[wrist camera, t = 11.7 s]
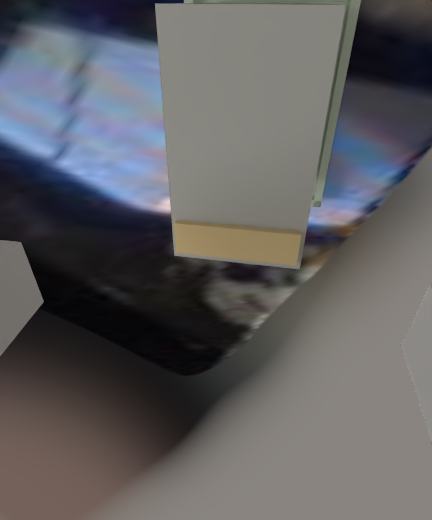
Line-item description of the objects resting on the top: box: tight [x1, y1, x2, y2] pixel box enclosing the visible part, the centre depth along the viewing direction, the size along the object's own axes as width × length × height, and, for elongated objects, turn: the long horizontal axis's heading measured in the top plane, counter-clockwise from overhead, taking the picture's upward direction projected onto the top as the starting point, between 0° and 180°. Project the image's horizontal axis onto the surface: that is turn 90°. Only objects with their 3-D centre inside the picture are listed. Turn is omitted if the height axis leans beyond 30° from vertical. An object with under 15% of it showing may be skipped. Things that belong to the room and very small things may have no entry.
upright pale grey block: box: [155, 3, 346, 269], centre depth 18 cm, size 6×10×11 cm, turn 0°
